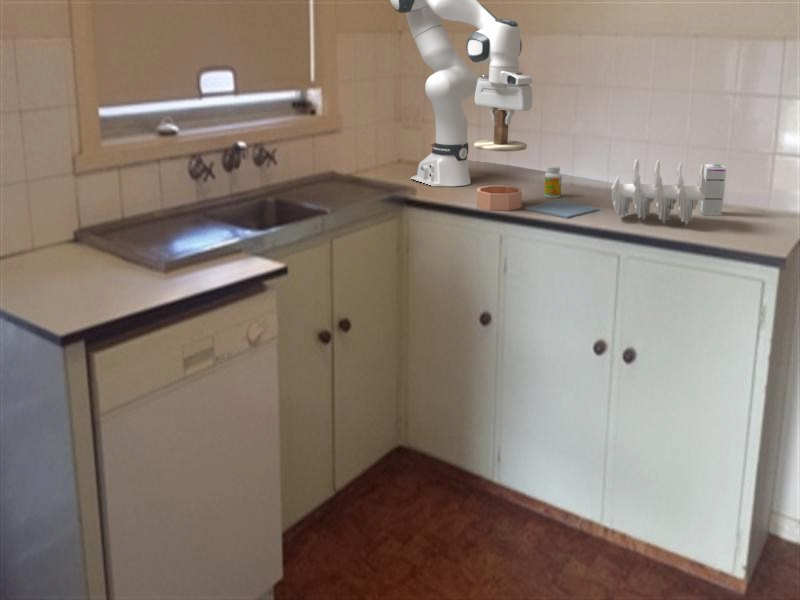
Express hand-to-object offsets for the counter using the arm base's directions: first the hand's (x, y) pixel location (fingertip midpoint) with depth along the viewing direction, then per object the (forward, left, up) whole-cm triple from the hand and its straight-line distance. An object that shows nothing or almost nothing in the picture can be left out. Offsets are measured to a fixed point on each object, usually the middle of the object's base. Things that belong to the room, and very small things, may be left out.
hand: (501, 123), depth 263 cm
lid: (0, 0, -7) cm, 7 cm away
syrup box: (+50, +39, -26) cm, 68 cm away
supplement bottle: (+2, +24, -26) cm, 35 cm away
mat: (+17, +10, -25) cm, 32 cm away
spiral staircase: (+44, +19, -26) cm, 54 cm away
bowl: (0, 0, -25) cm, 25 cm away
